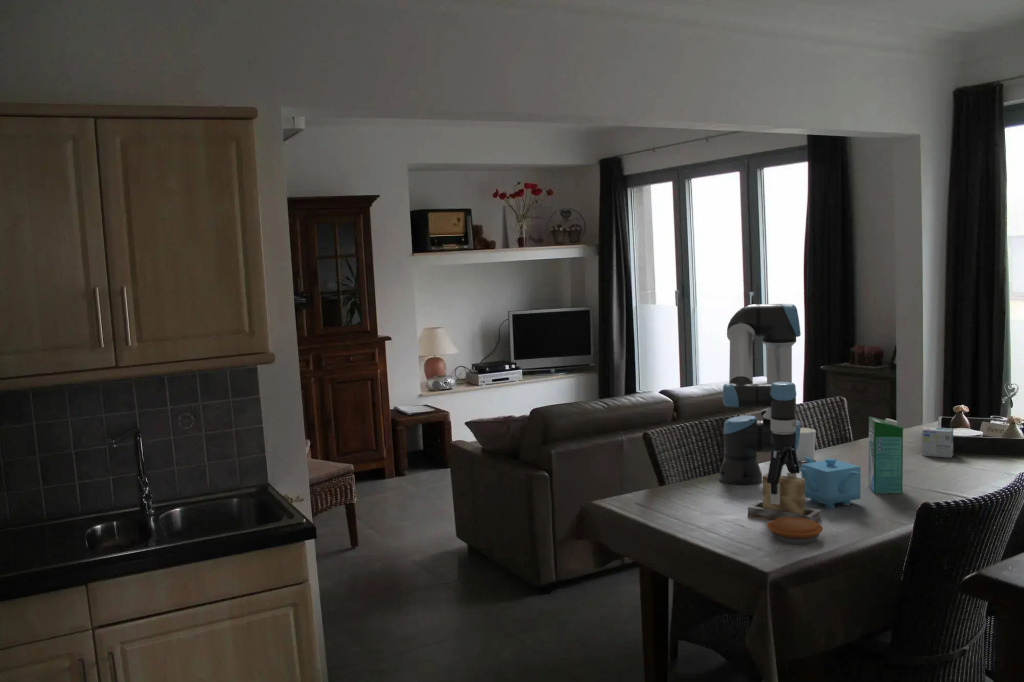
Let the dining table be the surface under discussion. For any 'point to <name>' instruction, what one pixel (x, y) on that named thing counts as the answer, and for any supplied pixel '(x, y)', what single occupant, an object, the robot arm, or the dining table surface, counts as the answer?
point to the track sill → (780, 513)
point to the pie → (795, 530)
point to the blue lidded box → (831, 481)
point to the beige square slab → (786, 495)
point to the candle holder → (806, 444)
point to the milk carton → (885, 456)
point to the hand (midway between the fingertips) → (783, 498)
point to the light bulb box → (937, 442)
